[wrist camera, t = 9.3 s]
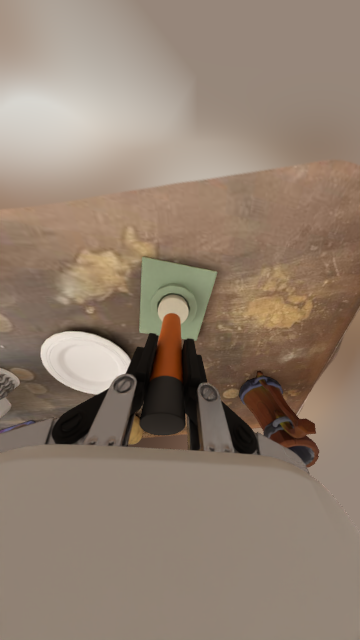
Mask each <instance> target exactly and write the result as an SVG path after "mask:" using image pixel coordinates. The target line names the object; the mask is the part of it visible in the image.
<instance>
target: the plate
mask: <svg viewBox="0 0 360 640" xmlns="http://www.w3.org/2000/svg"><path fill="white" fill-rule="evenodd" d="M40 356H41V359H42V362H43V365H44V366H45V368H46V369H47V370H48V372H49V373H50V374H51V375H52V376H53V377H54V378H56V379H57V380H58V381H60V382H61V383H63V384H65V385H66V386H69V387H71V388H73V389H75V390H78V391H82V392H85V393H91V394H99V393H101V392H103V391H105V390H107V389H108V388H109V387H110V385H111V383H112V382H113V380H114V379H115V378H116V377H118V376H120V375H122V374H126V372H127V369H128V367H129V365H130V362H131V359H130V357H129V356H128V355H127V354H126V353H125V352H124V351H123V350H122V349H121V348H120V347H119V346H118V345H116V344H115V343H113V342H112V341H110V340H108V339H106V338H103V337H101V336H99V335H96V334H92V333H87V332H83V331H65V332H61V333H57V334H54V335H53V336H51V337H49V338H48V339H46V340H45V342H44V343H43V345H42V346H41V353H40Z"/></svg>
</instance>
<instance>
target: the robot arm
mask: <svg viewBox="0 0 360 640" xmlns="http://www.w3.org/2000/svg"><path fill="white" fill-rule="evenodd" d="M157 343H158V336H157V335H156V334H155V333H149V336H148V339H147V342H146V345H145V347H144V348H143V347H137V349H136V351H135V353H134V355H133V358H132V360H131V362H130V365H129V367H128V369H127V372H126V374H122V375H120V376H118V377H116V378H115V379H114V380H113V382H112V383H111V385H110V387H109V388H108V389H107V390H105V391H103V392H101V393H99V394H98V395H96V396H94V397H92V398H90V399H89V400H87V401H85V402H83V403H81V404H80V405H78V406H76V407H74V408H72V409H71V410H69V411H67V412H66V413H64V414H63V415H62V416H61V417H59V418H56V419H54V417H52V418H49V419H46V420H42V421H39V422H36V423H32V424H29V425H26V426H22V427H19V428H16V429H12V430H9V431H6V432H3V433H0V640H360V531H359V530H358V528H357V527H356V526H355V524H354V523H353V521H352V520H351V518H350V517H349V516H348V514H347V513H346V512H345V510H344V509H343V508H342V506H341V505H340V504H339V502H338V501H337V500H336V499H335V497H334V496H333V495H332V494H331V493H330V492H329V491H328V490H327V488H325V487H324V486H323V485H322V484H321V483H320V482H319V481H317V480H316V479H315V478H314V477H312V476H311V475H310V474H309V471H308V469H307V467H306V465H305V464H304V462H303V461H302V459H301V458H300V457H299V456H298V455H297V454H295V453H294V452H293V451H291V450H289V449H288V448H286V447H284V446H282V445H280V444H278V443H277V442H275V441H273V440H271V439H269V438H267V437H266V436H264V435H262V434H260V433H258V432H257V433H254V432H253V430H252V429H251V428H250V426H249V425H248V424H247V423H245V422H244V421H243V420H242V419H241V418H240V417H239V416H238V415H237V414H235V413H234V412H233V411H232V410H231V409H230V408H229V407H228V406H227V405H225V404H224V403H223V402H222V401H221V398H220V394H219V392H218V390H217V389H216V387H215V386H213V385H212V384H210V383H207V379H206V374H205V370H204V366H203V361H202V357H201V355H196V349H195V344H194V339H190V338H187V340H184V344H183V348H182V372H183V386H184V401H185V413H186V414H187V433H188V450H175V449H157V448H139V447H128V443H129V439H130V434H131V430H132V426H133V421H134V417H135V412H137V411H138V410H139V409H140V408H141V406H143V402H144V399H145V395H146V391H147V387H148V384H149V381H150V377H151V372H152V368H153V363H154V359H155V354H156V350H157Z"/></svg>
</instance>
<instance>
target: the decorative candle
mask: <svg viewBox="0 0 360 640" xmlns="http://www.w3.org/2000/svg"><path fill="white" fill-rule="evenodd" d="M18 385H20V380H19V379H18V377H17V376H15V375H14V374H13V373H11V372H9V371H7V370H5V369H2V368H0V400H1V399H3V398H5V397H6V396H7V395H8V393H10V392H12V391H13V390H14V388H16V387H17V386H18Z"/></svg>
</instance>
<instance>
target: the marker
mask: <svg viewBox="0 0 360 640" xmlns="http://www.w3.org/2000/svg"><path fill="white" fill-rule="evenodd" d="M139 425H140V427H141V428H142V429H143V430H144V431H146V432H148V433H151V434H154V435H171V434H175V433H178V432H180V431H181V430H183V429H184V427H185V401H184V386H183V372H182V345H181V320H180V317H179V316H178V315H177V314H175V313H169V314H167V315H165V317H164V318H163V323H162V327H161V332H160V336H159V341H158V345H157V350H156V354H155V359H154V363H153V368H152V372H151V377H150V381H149V384H148V387H147V391H146V395H145V399H144V404H143V408H142V413H141V417H140V421H139Z"/></svg>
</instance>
